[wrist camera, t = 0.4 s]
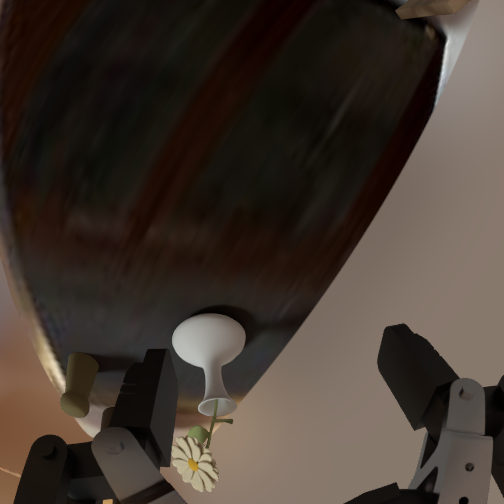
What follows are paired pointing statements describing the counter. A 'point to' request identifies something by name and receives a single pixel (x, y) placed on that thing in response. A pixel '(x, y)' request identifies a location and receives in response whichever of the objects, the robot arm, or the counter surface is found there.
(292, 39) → the counter surface
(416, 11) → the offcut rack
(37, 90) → the counter surface
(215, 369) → the flower in vase
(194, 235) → the counter surface
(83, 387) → the cork
